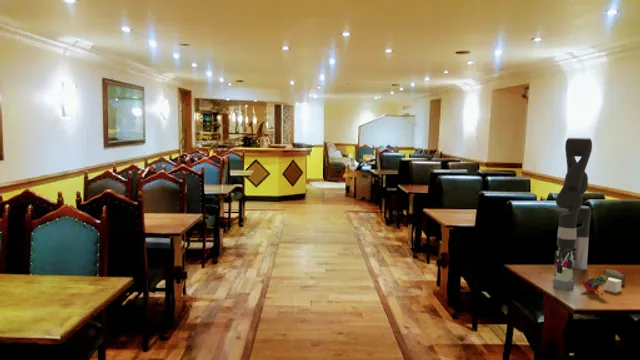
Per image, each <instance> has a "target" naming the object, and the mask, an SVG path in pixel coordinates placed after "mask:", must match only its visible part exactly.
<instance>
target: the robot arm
mask: <svg viewBox="0 0 640 360" xmlns="http://www.w3.org/2000/svg"><path fill="white" fill-rule="evenodd" d="M564 148H565V150H564V151H565V159H566V174H565V177H564V181H563V186H562V188H561V189H560V191H559V192H558V194H557V195H556V198H555V204H556V206H557V207H558V208H560V209H567V211H566V212H567V213H566V212H565V213H561V214H560V215H559V217H558V218H559V220H558V229H557V240H556V246H557V247H558V248H559V247H560V250H559V249H558V250H555V252H554V260H553V263H554V265H555V264H557V273H560V274H561V273H562V270H563V263H564V262H565V261H566V259H567V261H568V262H567V268H568V269H572V270H582V271H583V270H584V271H585V270H587V266H588V256H589V255H588V253H589V239H590V238H589V237H590V226H591V218H592V208H591V207H590V206H587V205H583V202H584V199H583V196H584V194H585V193H586V192H587V190H588V188H589V177H588V174H587V171H586V168H587V166H588V163H589V160H590V157H591V154H592V150H593V141H592V139H591V138H590V137H567V139H566V140H565V147H564ZM576 157H577V158H579V157H580V159H579V160H578V161H577V160H576ZM577 224H582V225H580V226H578V227H577ZM557 259H558V260H557ZM561 261H562V262H561Z"/></svg>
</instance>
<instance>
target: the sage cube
mask: <svg viewBox="0 0 640 360" xmlns="http://www.w3.org/2000/svg"><path fill="white" fill-rule="evenodd" d="M573 271H574V269H568V268H564V267H563V270H562V273H561V274H560V273H557V268H556V267H555V279H557V280H561V281H564V282H568V281H571V280H573Z"/></svg>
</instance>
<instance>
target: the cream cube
mask: <svg viewBox="0 0 640 360" xmlns="http://www.w3.org/2000/svg"><path fill="white" fill-rule="evenodd" d="M621 283H622V280H618V279H614V278H608V280H607V281H606V283H605V284H603V291H607V292H611V293H615V294H616V293H619V292H621V290H622V285H621Z"/></svg>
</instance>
